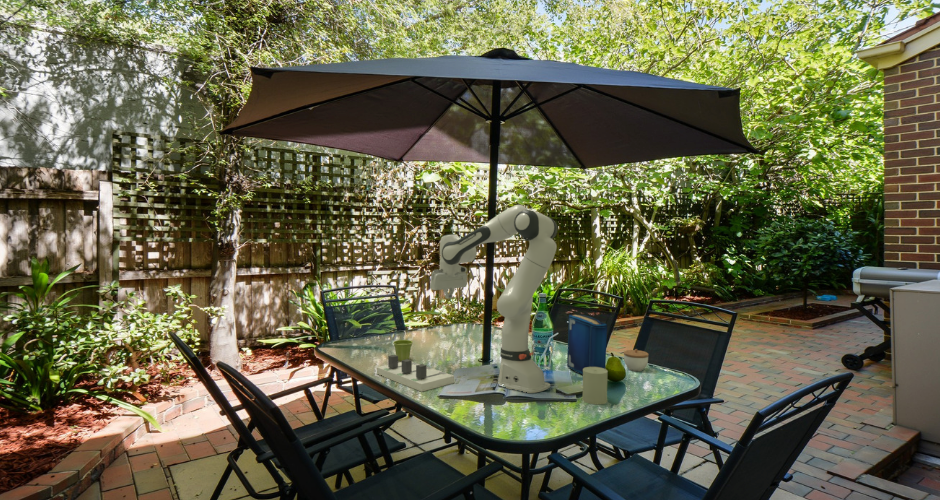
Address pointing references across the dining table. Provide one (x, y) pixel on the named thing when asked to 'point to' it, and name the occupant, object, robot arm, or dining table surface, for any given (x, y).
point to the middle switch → (406, 366)
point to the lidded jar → (636, 359)
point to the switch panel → (410, 380)
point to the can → (594, 385)
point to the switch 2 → (421, 371)
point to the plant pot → (402, 349)
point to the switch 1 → (393, 361)
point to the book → (586, 343)
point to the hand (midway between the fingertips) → (448, 298)
